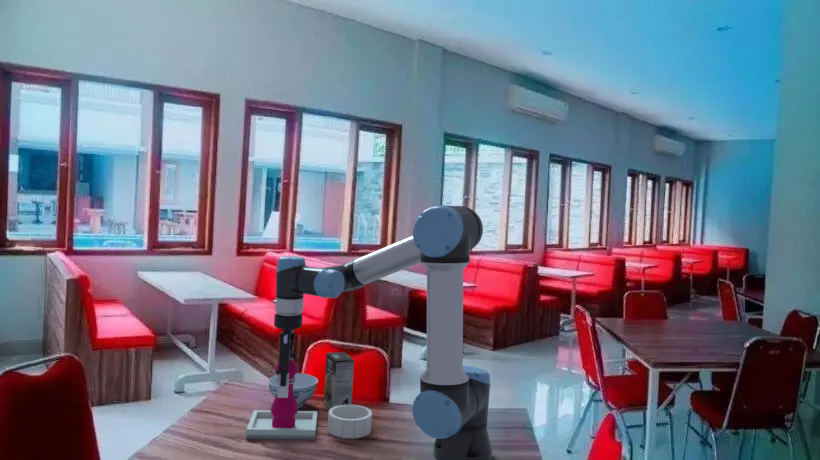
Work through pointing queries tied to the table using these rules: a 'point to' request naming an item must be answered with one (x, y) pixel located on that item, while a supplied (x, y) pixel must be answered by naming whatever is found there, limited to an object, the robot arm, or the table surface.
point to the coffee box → (338, 379)
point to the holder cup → (349, 421)
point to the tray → (263, 428)
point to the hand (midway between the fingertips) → (285, 389)
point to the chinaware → (297, 387)
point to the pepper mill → (285, 402)
